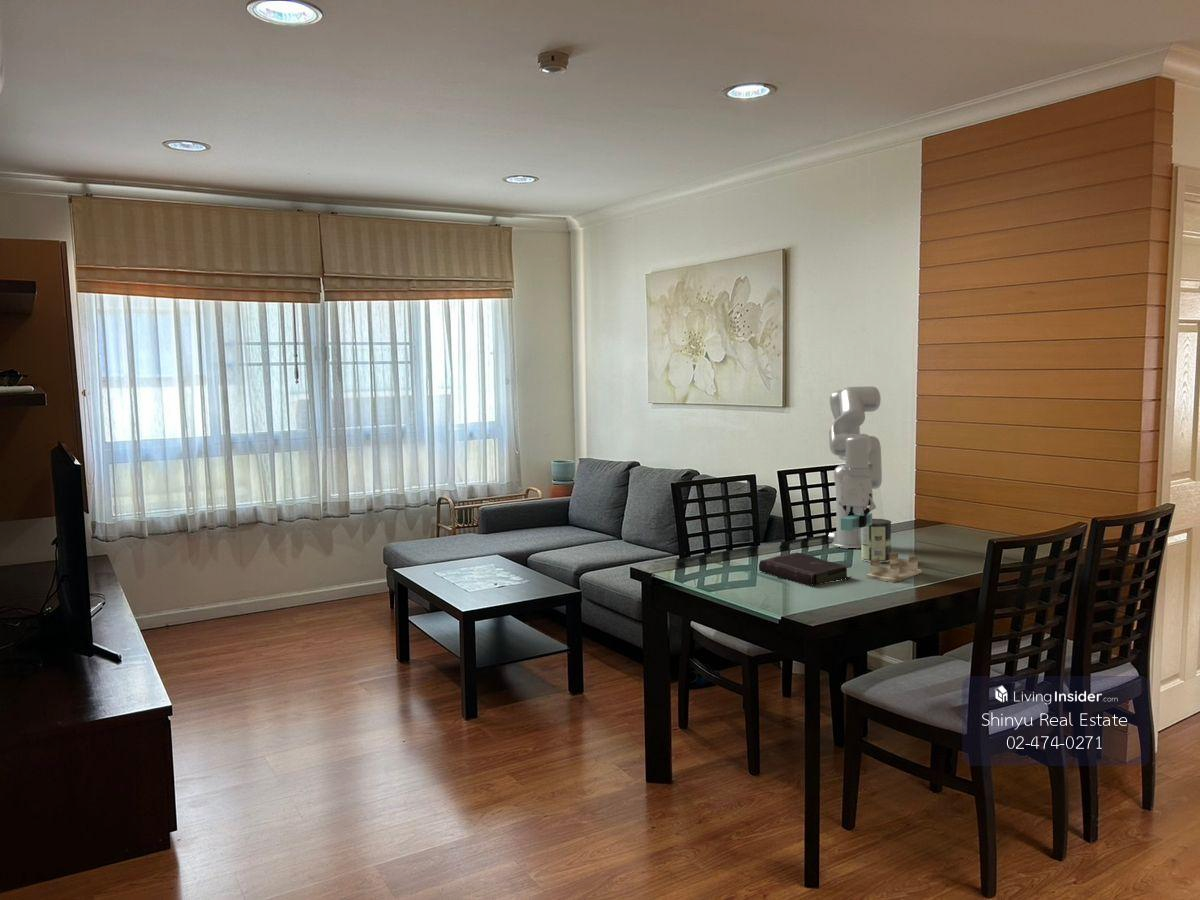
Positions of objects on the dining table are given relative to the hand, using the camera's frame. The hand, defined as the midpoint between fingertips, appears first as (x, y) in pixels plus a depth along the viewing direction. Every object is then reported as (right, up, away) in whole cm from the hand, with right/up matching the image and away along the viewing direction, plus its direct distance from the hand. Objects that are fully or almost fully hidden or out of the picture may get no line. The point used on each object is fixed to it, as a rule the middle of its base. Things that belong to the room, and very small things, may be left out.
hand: (857, 525), depth 293 cm
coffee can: (+11, -14, +14) cm, 22 cm away
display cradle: (+10, -16, -9) cm, 20 cm away
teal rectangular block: (0, -1, 0) cm, 1 cm away
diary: (-19, -17, -5) cm, 26 cm away
